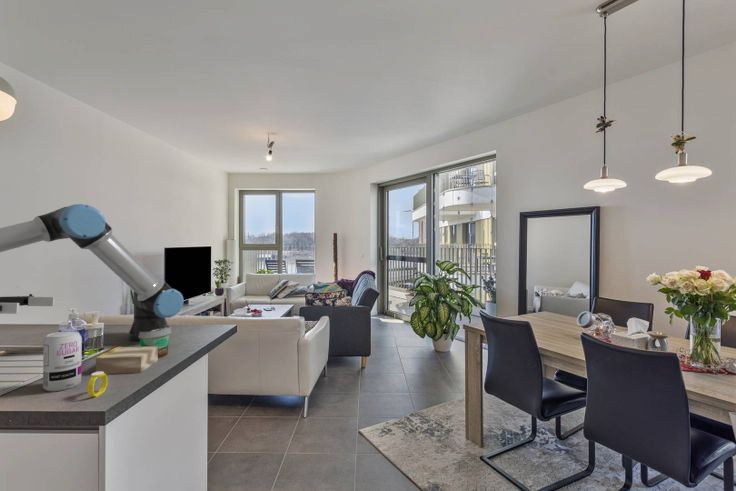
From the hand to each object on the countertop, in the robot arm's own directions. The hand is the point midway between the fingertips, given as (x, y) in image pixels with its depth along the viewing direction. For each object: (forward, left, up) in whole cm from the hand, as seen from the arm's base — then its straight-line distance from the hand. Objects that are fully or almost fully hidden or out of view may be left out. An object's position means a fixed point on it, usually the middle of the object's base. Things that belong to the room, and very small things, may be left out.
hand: (37, 304), depth 101 cm
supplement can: (+1, +7, -23) cm, 25 cm away
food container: (-25, +22, -23) cm, 41 cm away
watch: (+8, +20, -23) cm, 32 cm away
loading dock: (-14, +17, -23) cm, 32 cm away
